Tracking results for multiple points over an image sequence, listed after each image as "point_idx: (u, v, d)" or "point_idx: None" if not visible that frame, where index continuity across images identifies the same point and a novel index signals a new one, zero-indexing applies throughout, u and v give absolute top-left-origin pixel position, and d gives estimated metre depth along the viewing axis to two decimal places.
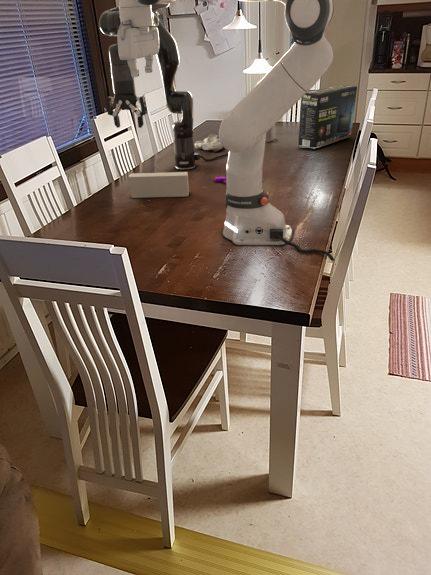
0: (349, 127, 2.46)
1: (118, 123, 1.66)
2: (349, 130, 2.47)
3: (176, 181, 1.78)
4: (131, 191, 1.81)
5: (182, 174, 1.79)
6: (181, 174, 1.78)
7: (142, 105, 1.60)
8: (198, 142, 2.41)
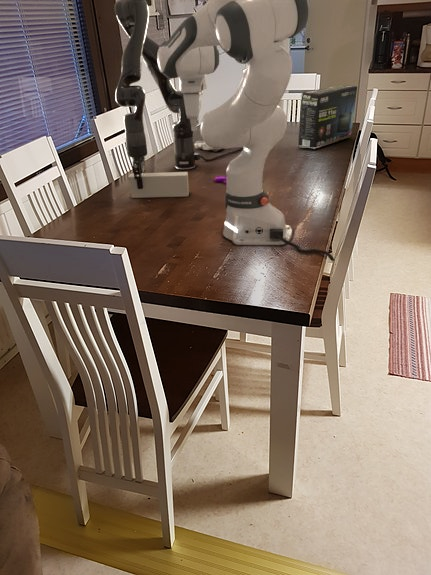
0: (349, 127, 2.46)
1: None
2: (349, 130, 2.47)
3: (176, 181, 1.78)
4: (131, 191, 1.81)
5: (182, 173, 1.79)
6: (181, 174, 1.78)
7: (144, 163, 1.83)
8: (198, 142, 2.41)
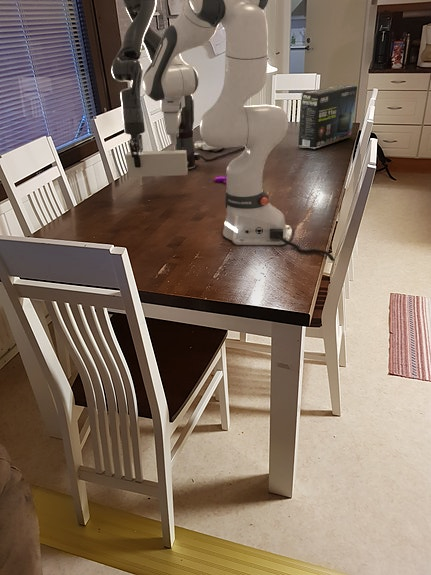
0: (349, 127, 2.46)
1: None
2: (349, 130, 2.47)
3: (175, 159, 1.74)
4: (128, 170, 1.77)
5: (180, 152, 1.75)
6: (179, 152, 1.74)
7: None
8: (198, 142, 2.41)
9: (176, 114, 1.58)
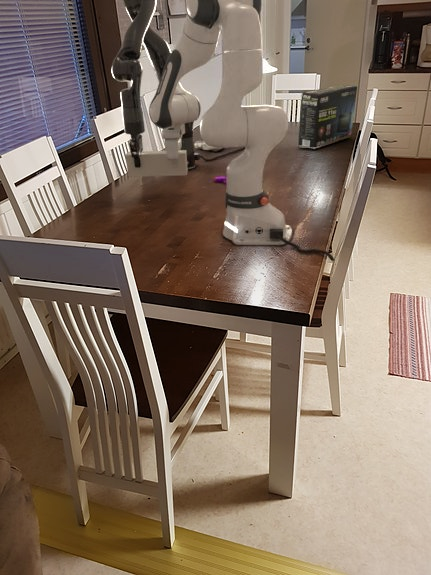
0: (349, 127, 2.46)
1: None
2: (349, 130, 2.47)
3: None
4: (128, 170, 1.77)
5: (180, 152, 1.74)
6: (179, 152, 1.74)
7: None
8: (198, 142, 2.41)
9: (176, 141, 1.64)
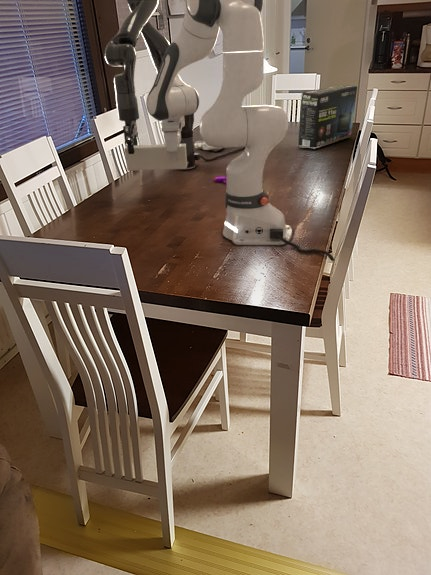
0: (349, 127, 2.46)
1: None
2: (349, 130, 2.47)
3: None
4: (127, 164, 1.75)
5: (180, 145, 1.73)
6: (179, 145, 1.73)
7: (136, 126, 1.76)
8: (198, 142, 2.41)
9: (176, 133, 1.63)
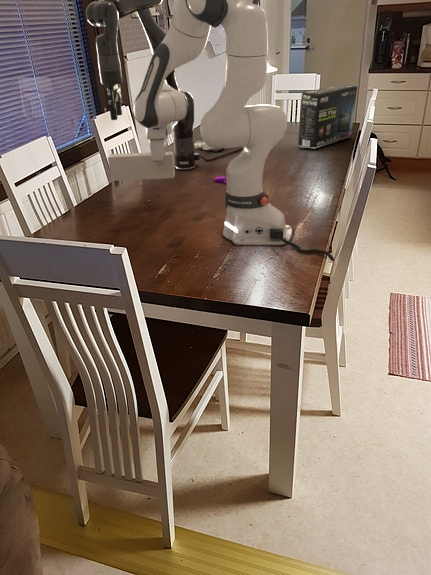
0: (349, 127, 2.46)
1: None
2: (349, 130, 2.47)
3: None
4: (111, 173, 1.65)
5: (166, 153, 1.64)
6: (166, 153, 1.63)
7: (120, 92, 1.70)
8: (198, 142, 2.41)
9: (162, 141, 1.53)
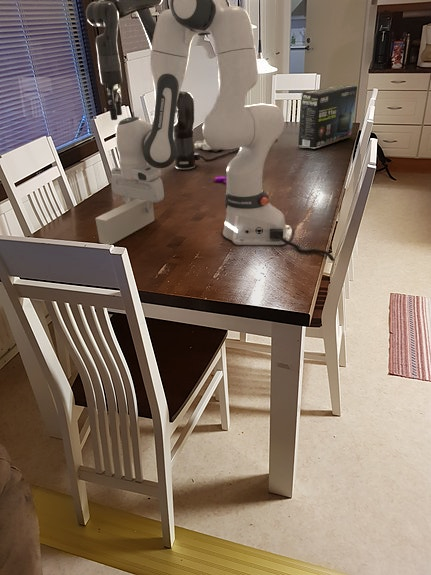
0: (349, 127, 2.46)
1: None
2: (349, 130, 2.47)
3: (145, 207, 1.55)
4: (109, 237, 1.44)
5: None
6: None
7: (120, 92, 1.70)
8: (198, 142, 2.41)
9: (160, 179, 1.48)
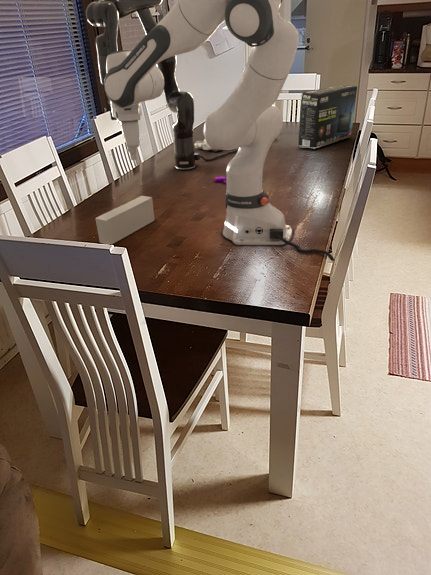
0: (349, 127, 2.46)
1: None
2: (349, 130, 2.47)
3: (145, 207, 1.55)
4: (109, 237, 1.44)
5: (144, 198, 1.57)
6: (145, 198, 1.56)
7: None
8: (198, 142, 2.41)
9: (137, 123, 1.34)
